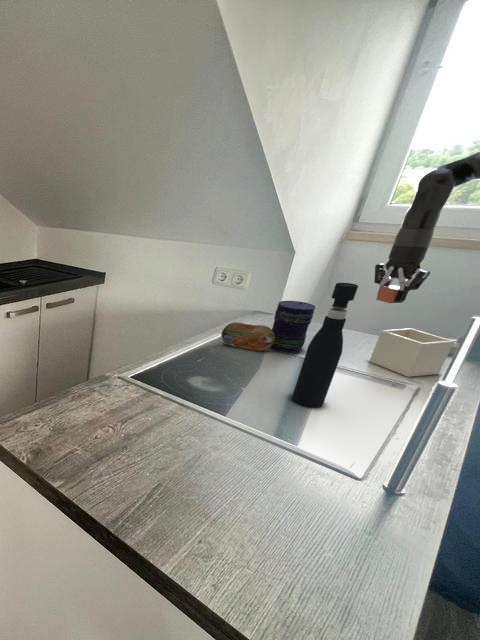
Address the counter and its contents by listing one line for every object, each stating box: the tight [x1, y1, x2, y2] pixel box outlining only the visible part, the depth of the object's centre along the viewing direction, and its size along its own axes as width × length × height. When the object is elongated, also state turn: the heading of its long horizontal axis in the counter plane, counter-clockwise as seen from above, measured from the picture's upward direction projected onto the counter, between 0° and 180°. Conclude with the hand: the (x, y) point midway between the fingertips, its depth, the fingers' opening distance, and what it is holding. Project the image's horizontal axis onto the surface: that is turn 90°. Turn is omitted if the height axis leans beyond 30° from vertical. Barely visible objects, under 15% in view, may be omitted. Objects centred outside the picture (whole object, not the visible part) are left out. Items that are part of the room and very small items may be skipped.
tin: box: [221, 321, 275, 352], centre depth 129 cm, size 15×3×8 cm, turn 55°
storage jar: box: [269, 300, 316, 354], centre depth 127 cm, size 10×10×15 cm
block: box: [375, 284, 400, 304], centre depth 120 cm, size 4×4×4 cm
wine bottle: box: [291, 282, 359, 409], centre depth 92 cm, size 6×6×30 cm
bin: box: [368, 327, 455, 378], centre depth 112 cm, size 14×11×10 cm
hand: (389, 300), depth 121 cm, fingers closed on block, 4 cm apart
